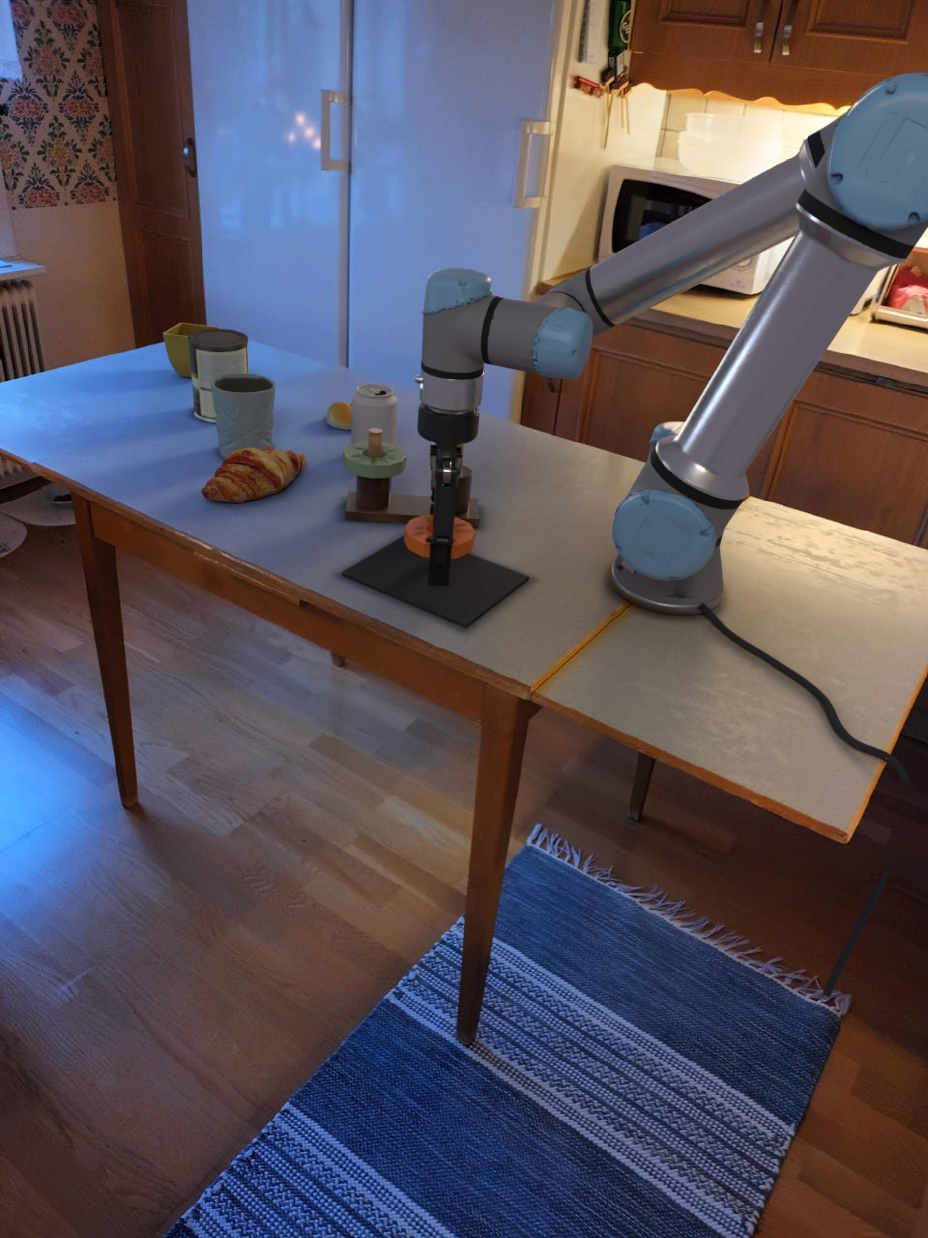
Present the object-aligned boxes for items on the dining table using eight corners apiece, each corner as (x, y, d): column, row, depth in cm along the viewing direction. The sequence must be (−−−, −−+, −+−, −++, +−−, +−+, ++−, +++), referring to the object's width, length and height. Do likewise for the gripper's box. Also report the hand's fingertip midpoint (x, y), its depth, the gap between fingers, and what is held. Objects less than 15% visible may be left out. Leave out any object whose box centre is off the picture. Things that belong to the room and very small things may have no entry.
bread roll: (380, 430, 169) (381, 409, 167) (332, 432, 166) (332, 411, 164) (368, 413, 175) (369, 393, 173) (322, 416, 172) (322, 395, 170)
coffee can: (181, 412, 168) (174, 335, 161) (225, 399, 175) (220, 325, 168) (220, 428, 163) (215, 348, 156) (263, 414, 171) (260, 338, 163)
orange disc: (486, 545, 123) (488, 532, 122) (439, 566, 117) (440, 552, 116) (438, 521, 128) (439, 508, 127) (391, 540, 122) (391, 526, 121)
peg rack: (476, 507, 145) (484, 428, 138) (478, 527, 139) (486, 446, 132) (348, 499, 143) (349, 419, 136) (344, 520, 137) (346, 437, 130)
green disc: (417, 468, 137) (418, 455, 136) (372, 483, 131) (372, 470, 130) (376, 449, 142) (376, 436, 141) (331, 462, 136) (331, 450, 135)
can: (388, 468, 155) (390, 398, 148) (345, 461, 156) (346, 392, 149) (399, 451, 161) (402, 384, 155) (358, 445, 162) (359, 378, 155)
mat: (528, 579, 127) (529, 576, 126) (465, 628, 115) (466, 625, 115) (411, 534, 135) (411, 531, 135) (341, 575, 124) (341, 572, 123)
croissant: (291, 482, 155) (274, 436, 153) (332, 471, 148) (315, 423, 146) (194, 522, 139) (174, 471, 137) (236, 511, 133) (215, 458, 131)
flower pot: (165, 378, 183) (161, 332, 178) (184, 365, 190) (180, 321, 185) (207, 384, 182) (204, 338, 177) (224, 371, 189) (222, 327, 184)
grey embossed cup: (203, 455, 153) (198, 384, 146) (236, 436, 161) (233, 368, 155) (257, 468, 150) (254, 397, 144) (288, 448, 158) (286, 379, 152)
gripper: (419, 374, 121) (411, 526, 133) (417, 435, 103) (408, 607, 115) (476, 377, 122) (462, 529, 134) (484, 440, 103) (468, 610, 115)
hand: (437, 565), depth 124 cm, fingers closed on orange disc, 9 cm apart
